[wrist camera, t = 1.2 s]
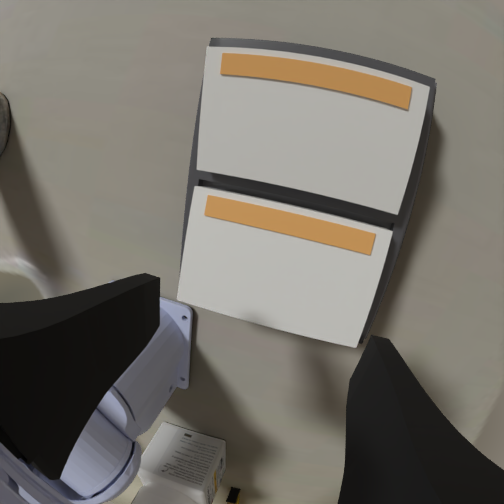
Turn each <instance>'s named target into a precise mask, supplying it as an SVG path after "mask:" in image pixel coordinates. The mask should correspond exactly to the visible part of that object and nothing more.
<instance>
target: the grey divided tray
mask: <svg viewBox="0 0 504 504" xmlns="http://www.w3.org/2000/svg"><path fill="white" fill-rule="evenodd" d="M209 47H237V48H253V49H265V50H275V51H283V52H291V53H298V54H305V55H311V56H317V57H323V58H328V59H333V60H338V61H343V62H347V63H352V64H356V65H360V66H364V67H368V68H372V69H376V70H379V71H383V72H386V73H390V74H393V75H396V76H400V77H403V78H406V79H409V80H412V81H415V82H418V83H421V84H423V85H426V86H429V87H430V90H429V95H428V101H427V106H426V111H425V116H424V120H423V125H422V129H421V134H420V138H419V142H418V146H417V150H416V154H415V158H414V162H413V165H412V169H411V173H410V176H409V180H408V183H407V186H406V190H405V193H404V196H403V200H402V203H401V206H400V209H399V212H398V215H396V214H393V213H389V212H386V211H382V210H378V209H375V208H371V207H367V206H364V205H360V204H356V203H352V202H348V201H344V200H340V199H336V198H332V197H328V196H324V195H320V194H316V193H311V192H307V191H303V190H298V189H294V188H289V187H285V186H280V185H275V184H271V183H266V182H261V181H256V180H251V179H246V178H240V177H235V176H230V175H224V174H219V173H213V172H207V171H201V170H197V154H198V138H199V124H200V111H201V100H202V89H203V80H202V86H201V92H200V98H199V104H198V110H197V116H196V123H195V130H194V137H193V144H192V152H191V159H190V167H189V176H188V185H187V194H186V203H185V213H184V224H183V236H182V249H181V263H180V272H181V265H182V258H183V252H184V245H185V239H186V232H187V226H188V220H189V214H190V209H191V203H192V197H193V192H194V186H203V187H209V188H215V189H220V190H225V191H230V192H235V193H240V194H245V195H250V196H254V197H259V198H264V199H268V200H273V201H277V202H282V203H286V204H291V205H295V206H299V207H304V208H308V209H312V210H316V211H321V212H325V213H329V214H333V215H337V216H341V217H345V218H349V219H353V220H356V221H360V222H364V223H368V224H372V225H375V226H379V227H383V228H386V229H388V230H391V231H393V233H392V237H391V241H390V244H389V248H388V252H387V256H386V259H385V263H384V266H383V270H382V273H381V276H380V280H379V283H378V286H377V290H376V293H375V296H374V299H373V302H372V305H371V308H370V311H369V314H368V317H367V320H366V322H365V325H364V328H363V331H362V334H361V336H360V339H359V342H358V343H360V344H362V343H363V340H364V339H366V338H367V335H368V333H369V331H370V328H371V326H372V324H373V321H374V319H375V317H376V314H377V312H378V309H379V307H380V304H381V302H382V299H383V297H384V294H385V291H386V289H387V286H388V283H389V281H390V278H391V275H392V272H393V269H394V267H395V264H396V261H397V258H398V255H399V252H400V249H401V246H402V242H403V239H404V236H405V233H406V230H407V226H408V223H409V219H410V216H411V212H412V209H413V205H414V201H415V197H416V194H417V190H418V186H419V181H420V177H421V173H422V169H423V164H424V159H425V155H426V150H427V145H428V139H429V134H430V128H431V122H432V116H433V109H434V102H435V94H436V86H437V83H435V79H434V78H431V77H429V76H426V75H423V74H420V73H417V72H415V71H412V70H409V69H406V68H402V67H399V66H396V65H393V64H389V63H386V62H382V61H379V60H375V59H371V58H367V57H363V56H359V55H355V54H351V53H346V52H342V51H337V50H332V49H326V48H321V47H315V46H309V45H302V44H295V43H287V42H278V41H268V40H255V39H238V38H211V41H210V44H209ZM203 78H204V75H203Z"/></svg>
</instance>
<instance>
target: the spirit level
mask: <svg viewBox="0 0 504 504" xmlns="http://www.w3.org/2000/svg"><path fill="white" fill-rule="evenodd" d="M239 493H240V489H236V488H233V487H231V490H230V492H229V495H228V498H227V500H226V502H227V504H239Z"/></svg>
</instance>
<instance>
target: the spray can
mask: <svg viewBox="0 0 504 504" xmlns="http://www.w3.org/2000/svg"><path fill="white" fill-rule="evenodd" d="M9 116H10V115H9V107H8V101H7V99H6V98H5V96H4V95H3V94H2V93H1V92H0V155H1V153H2V151H3V150H4V148H5V146H6V143H7V138H8V133H9V128H10V118H9Z"/></svg>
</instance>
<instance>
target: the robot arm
mask: <svg viewBox="0 0 504 504" xmlns="http://www.w3.org/2000/svg"><path fill="white" fill-rule="evenodd" d="M184 316H186V317H187V318H188V319H186V318H185V317H184ZM192 317H193V311H192V309H191V308H190V307H189V306H187V305H184V304H181V303H177V302H174V301H171V300H168V299H165V298H162V297H160V278H159V277H156V276H153V275H150V274H147V273H144V274H138V275H134V276H131V277H127V278H124V279H120V280H117V281H114V280H112V281H111V282H109V283H107V284H104V285H101V286H97V287H94V288H90V289H87V290H83V291H79V292H75V293H72V294H68V295H63V296H59V297H54V298H48V299H42V300H36V301H26V302H14V303H0V504H102V503H104V502H108V501H110V500H113V499H114V498H116V497H117V496H119V495H120V494H121V493H122V492H124V491H125V490H126V489H127V487H128V486H129V485H130V484H131V483H132V481H133V480H134V478H135V477H136V475H137V473H138V471H139V468H140V464H141V453H142V451H141V446H140V444H139V443H138V442H137V441H136V440H135V439H136V438H137V436H139V435H141V434H143V433H144V432H146V431H147V430H148V429H149V428H150V427H151V426H152V424H153V423H154V421H155V420H156V418H157V417H158V415H159V414H160V412H161V410H162V409H163V407H164V406H165V404H166V403H167V401H168V400H169V398H170V397H171V395H172V393H173V392H174V390H175V389H176V387H179V388H181V389H187V388H188V386H189V369H190V349H191V332H192ZM338 504H504V470H503V469H501V468H500V467H499V466H497V465H496V464H495V463H493V462H492V461H491V460H489V459H488V458H487V457H486V456H484V455H483V454H482V453H481V452H480V451H478V450H477V449H476V448H475V447H474V446H473V445H472V444H471V443H470V442H469V441H468V440H467V439H466V438H464V437H463V436H462V435H461V434H460V433H459V432H458V430H457V429H456V428H455V427H454V426H453V425H452V424H451V423H450V422H449V421H448V419H447V418H446V417H445V416H444V415H443V414H442V413H441V411H440V410H439V409H438V408H437V406H436V405H435V404H434V402H433V401H432V400H431V399H430V397H429V396H428V395H427V393H426V392H425V391H424V389H423V388H422V386H421V385H420V384H419V382H418V381H417V379H416V378H415V376H414V375H413V373H412V372H411V370H410V369H409V367H408V366H407V364H406V363H405V361H404V360H403V358H402V357H401V356H400V354H399V353H398V351H397V350H396V348H395V347H394V345H393V344H392V343H391V341H390V340H389V339H387V338H382V337H378V336H373V335H371V337H370V339H369V342H368V344H367V346H366V348H365V350H364V352H363V354H362V356H361V359H360V361H359V363H358V365H357V367H356V369H355V371H354V373H353V375H352V377H351V379H350V383H349V390H348V397H347V405H346V449H345V467H344V475H343V480H342V486H341V491H340V495H339V500H338Z"/></svg>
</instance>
